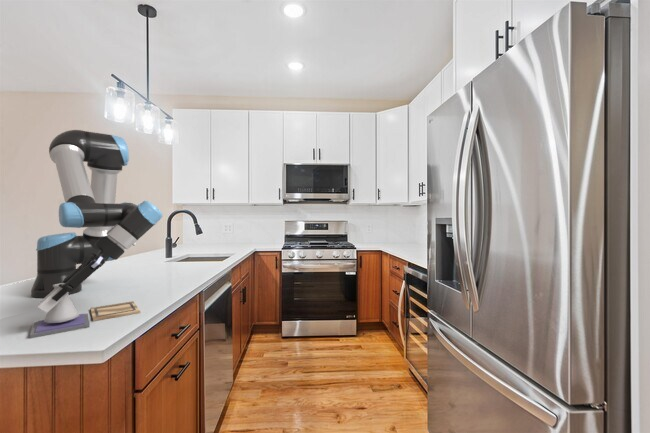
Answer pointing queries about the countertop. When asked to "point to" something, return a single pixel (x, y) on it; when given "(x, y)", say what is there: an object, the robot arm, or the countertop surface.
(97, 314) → the marked board
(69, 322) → the ink pad
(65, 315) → the flask
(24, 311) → the countertop surface
